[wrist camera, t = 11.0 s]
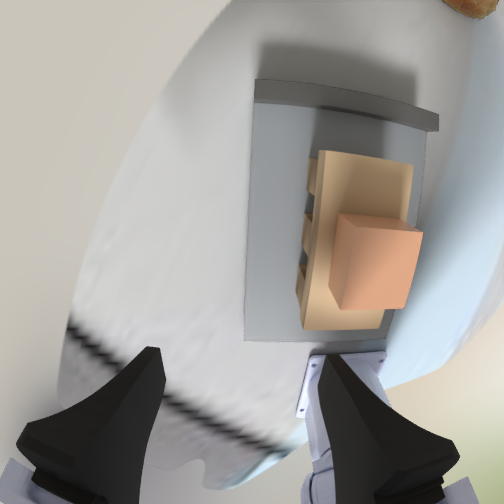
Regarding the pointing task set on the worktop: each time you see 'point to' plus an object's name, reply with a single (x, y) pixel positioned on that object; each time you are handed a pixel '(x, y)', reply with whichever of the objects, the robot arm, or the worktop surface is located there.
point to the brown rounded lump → (473, 7)
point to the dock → (302, 201)
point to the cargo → (373, 262)
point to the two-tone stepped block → (325, 224)
